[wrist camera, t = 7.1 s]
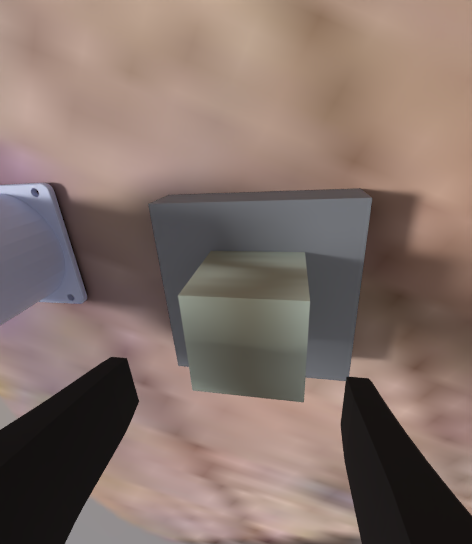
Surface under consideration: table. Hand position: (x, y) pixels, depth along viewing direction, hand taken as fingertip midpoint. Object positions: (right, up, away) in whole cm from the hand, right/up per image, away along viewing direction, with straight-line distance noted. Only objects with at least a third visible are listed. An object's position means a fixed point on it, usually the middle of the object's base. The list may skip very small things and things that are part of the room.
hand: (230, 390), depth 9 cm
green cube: (+1, +3, +5) cm, 6 cm away
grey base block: (+2, +4, +8) cm, 9 cm away
